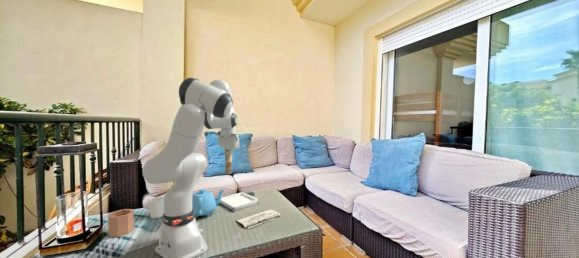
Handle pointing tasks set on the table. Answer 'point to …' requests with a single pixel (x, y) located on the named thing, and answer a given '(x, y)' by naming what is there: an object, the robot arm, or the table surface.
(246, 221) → the newspaper
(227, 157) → the dowel
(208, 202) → the teapot
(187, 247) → the robot arm
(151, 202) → the white cup
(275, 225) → the table surface
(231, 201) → the tray
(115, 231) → the pot
